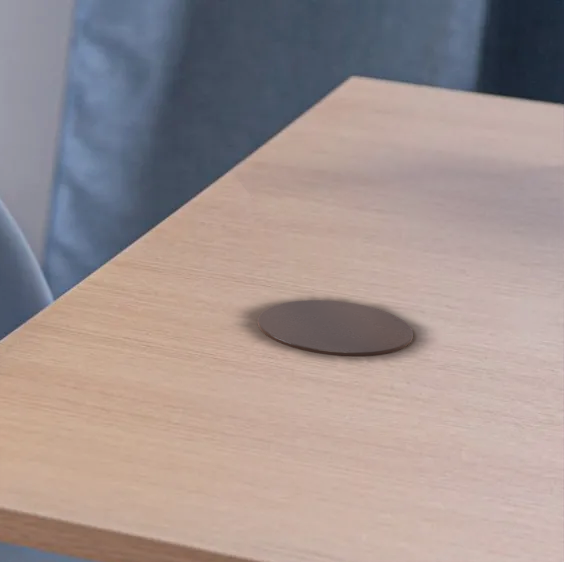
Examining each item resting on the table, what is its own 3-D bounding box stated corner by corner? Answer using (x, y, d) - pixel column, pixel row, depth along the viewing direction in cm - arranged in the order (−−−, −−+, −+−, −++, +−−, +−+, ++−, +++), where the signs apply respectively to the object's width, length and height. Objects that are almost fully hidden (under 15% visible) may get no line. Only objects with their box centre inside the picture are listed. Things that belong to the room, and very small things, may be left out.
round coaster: (350, 310, 97) (352, 293, 96) (442, 359, 90) (445, 341, 90) (226, 327, 93) (228, 309, 93) (313, 380, 87) (316, 361, 87)
